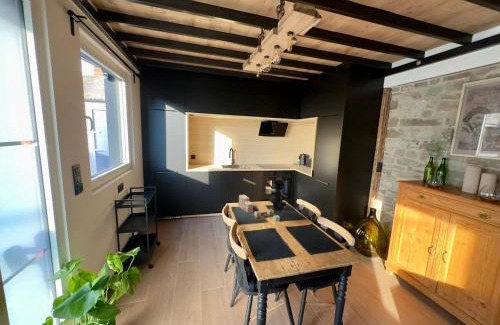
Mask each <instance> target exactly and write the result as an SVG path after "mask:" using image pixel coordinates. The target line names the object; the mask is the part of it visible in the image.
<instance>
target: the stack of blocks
mask: <svg viewBox="0 0 500 325" xmlns="http://www.w3.org/2000/svg"><path fill="white" fill-rule="evenodd" d="M238 207H239V208H241V210H243V211H244V212H246V213H248V214H249V213H254V203H253V202H251V201H250V197H248V196H247V195H245V194H239V195H238Z"/></svg>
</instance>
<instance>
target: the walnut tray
mask: <svg viewBox="0 0 500 325" xmlns="http://www.w3.org/2000/svg"><path fill="white" fill-rule="evenodd" d="M275 215H277V213H275V212H274V214H271V215H269V214H268V213H267V211H263V212H262V211H261V216H259V217H256V216H255V215H254V213H251V217H253V218H254V219H255V220H256V221H257V220H262V219H263V220H265V219H268V218H273V216H275Z"/></svg>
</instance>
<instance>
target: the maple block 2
mask: <svg viewBox="0 0 500 325" xmlns="http://www.w3.org/2000/svg"><path fill="white" fill-rule="evenodd" d="M266 212H267V213H268V214H269V215H271V214H274V213H275V210H274V209H272V208H269V209H266Z"/></svg>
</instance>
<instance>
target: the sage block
mask: <svg viewBox="0 0 500 325" xmlns="http://www.w3.org/2000/svg"><path fill="white" fill-rule="evenodd" d="M272 220H273V221H275V222H280V221H281V217H280V215H278V214H276V215H275V216H273V217H272Z"/></svg>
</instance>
